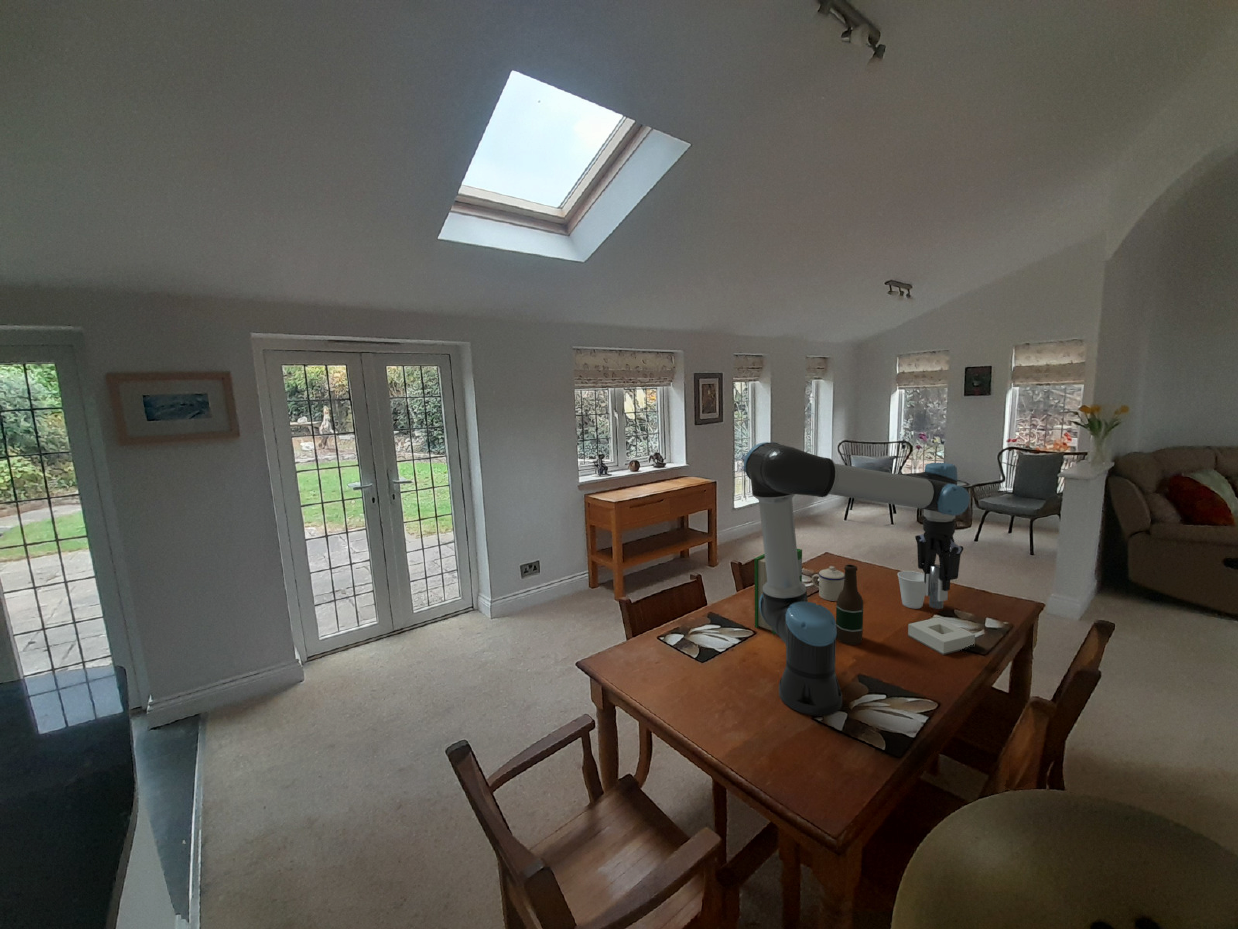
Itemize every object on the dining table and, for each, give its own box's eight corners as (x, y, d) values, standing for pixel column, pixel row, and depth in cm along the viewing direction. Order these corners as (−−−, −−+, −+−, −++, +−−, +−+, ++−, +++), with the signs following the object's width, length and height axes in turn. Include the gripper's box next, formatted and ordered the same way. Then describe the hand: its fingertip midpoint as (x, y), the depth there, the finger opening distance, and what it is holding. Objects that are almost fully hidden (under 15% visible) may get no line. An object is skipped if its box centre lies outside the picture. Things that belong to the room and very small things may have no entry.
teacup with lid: (848, 596, 184) (849, 566, 182) (838, 604, 178) (839, 573, 176) (817, 587, 193) (817, 559, 191) (806, 595, 187) (806, 565, 185)
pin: (936, 609, 139) (938, 569, 137) (926, 604, 142) (927, 565, 141) (946, 607, 140) (947, 567, 138) (935, 602, 143) (936, 563, 141)
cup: (928, 602, 176) (930, 573, 174) (928, 613, 167) (930, 583, 166) (897, 597, 181) (898, 569, 179) (895, 608, 173) (896, 578, 171)
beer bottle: (866, 646, 149) (868, 570, 145) (838, 644, 150) (840, 570, 147) (858, 633, 156) (861, 561, 153) (832, 632, 158) (834, 561, 154)
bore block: (943, 655, 142) (943, 642, 142) (908, 636, 154) (908, 624, 153) (974, 647, 146) (975, 634, 145) (937, 629, 157) (938, 617, 156)
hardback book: (775, 634, 158) (775, 563, 155) (754, 627, 164) (754, 558, 160) (801, 616, 170) (802, 549, 166) (781, 610, 175) (782, 545, 172)
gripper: (977, 523, 130) (973, 606, 134) (924, 510, 146) (922, 585, 150) (955, 527, 129) (952, 611, 132) (904, 513, 144) (902, 589, 148)
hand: (936, 597), depth 141 cm, fingers closed on pin, 3 cm apart
